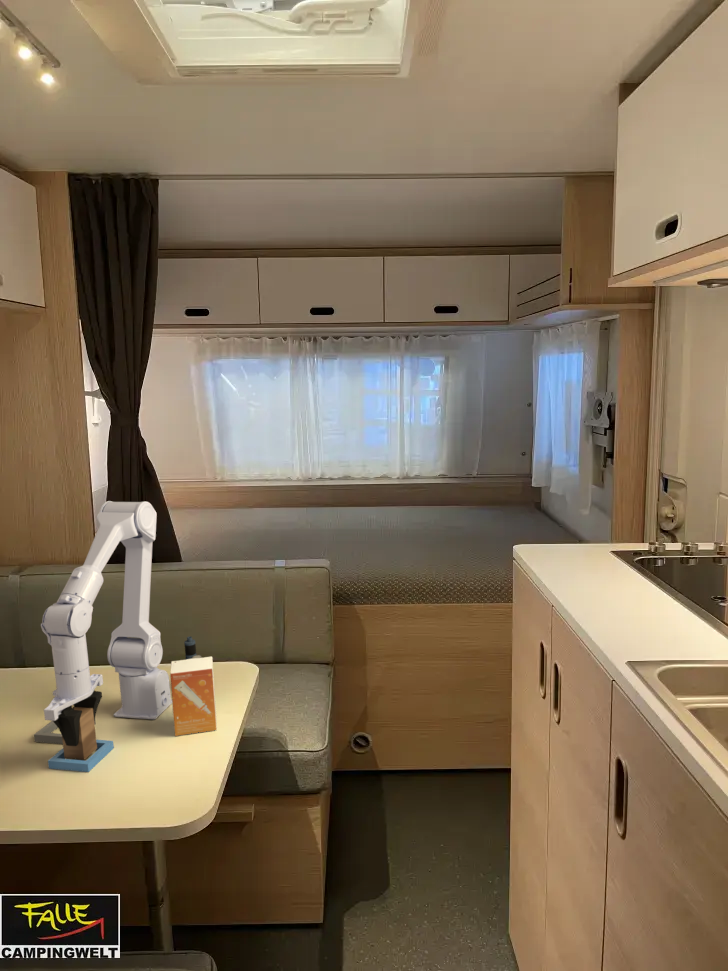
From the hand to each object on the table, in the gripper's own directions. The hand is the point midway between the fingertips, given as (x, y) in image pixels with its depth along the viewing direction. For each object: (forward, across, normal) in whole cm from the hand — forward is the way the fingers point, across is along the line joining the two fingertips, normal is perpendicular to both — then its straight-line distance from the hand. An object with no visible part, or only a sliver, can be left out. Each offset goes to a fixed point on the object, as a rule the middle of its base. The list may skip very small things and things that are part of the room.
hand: (79, 738), depth 127 cm
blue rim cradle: (+4, 0, 0) cm, 4 cm away
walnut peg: (+3, 0, 0) cm, 3 cm away
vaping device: (+4, -29, +9) cm, 31 cm away
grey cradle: (+4, -8, -9) cm, 13 cm away
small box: (+4, -14, +16) cm, 22 cm away
